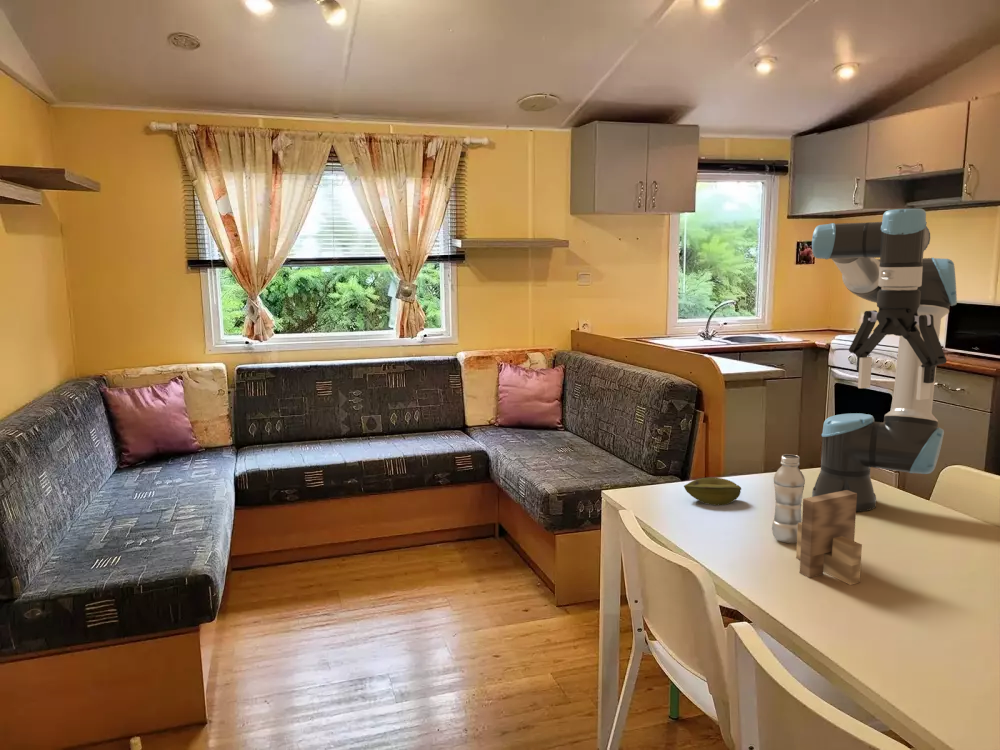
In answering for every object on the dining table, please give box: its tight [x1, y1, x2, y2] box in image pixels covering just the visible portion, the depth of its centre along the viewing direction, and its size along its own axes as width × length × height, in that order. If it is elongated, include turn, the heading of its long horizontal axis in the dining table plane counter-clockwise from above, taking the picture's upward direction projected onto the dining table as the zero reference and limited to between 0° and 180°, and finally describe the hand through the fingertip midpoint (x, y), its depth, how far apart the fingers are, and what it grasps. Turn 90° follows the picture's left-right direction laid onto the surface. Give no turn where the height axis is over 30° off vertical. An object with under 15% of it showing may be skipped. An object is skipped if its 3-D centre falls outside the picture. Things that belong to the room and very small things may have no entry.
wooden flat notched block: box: [799, 490, 857, 579], centre depth 145 cm, size 12×2×16 cm, turn 113°
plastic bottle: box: [771, 453, 806, 544], centre depth 160 cm, size 6×7×20 cm
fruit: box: [683, 476, 742, 506], centre depth 188 cm, size 11×12×7 cm
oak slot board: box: [795, 522, 863, 586], centre depth 146 cm, size 2×14×8 cm, turn 22°
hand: (892, 393), depth 144 cm, fingers open, 13 cm apart
